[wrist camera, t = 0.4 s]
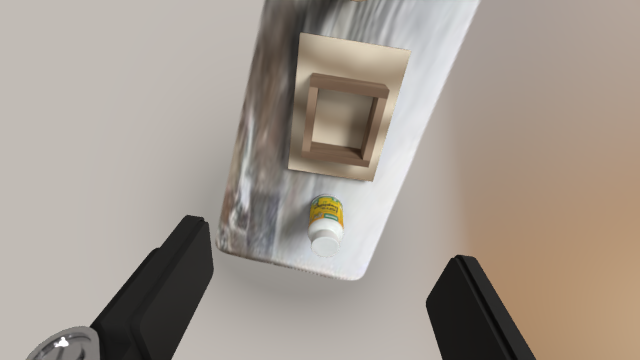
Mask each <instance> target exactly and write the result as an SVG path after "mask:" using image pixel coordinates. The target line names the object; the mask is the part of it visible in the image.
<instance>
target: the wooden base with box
mask: <svg viewBox="0 0 640 360" xmlns="http://www.w3.org/2000/svg"><path fill="white" fill-rule="evenodd" d="M410 53H411V51H409V50H405V49H399V48H393V47H387V46H381V45H375V44H369V43H363V42H357V41H351V40H345V39H339V38H333V37H327V36H321V35H315V34H309V33H303V32H301V33H300V40H299V51H298V62H297V74H296V85H295V96H294V107H293V119H292V130H291V141H290V152H289V164H288V169H293V170H299V171H306V172H313V173H319V174H326V175H332V176H339V177H345V178H352V179H359V180H365V181H372V182H373V179H374V176H375V172H376V169H377V165H378V162H379V159H380V155H381V152H382V148H383V145H384V142H385V138H386V135H387V131H388V128H389V125H390V121H391V118H392V114H393V111H394V108H395V104H396V101H397V97H398V94H399V91H400V87H401V84H402V81H403V77H404V74H405V70H406V67H407V64H408V60H409V57H410Z"/></svg>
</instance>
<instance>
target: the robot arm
mask: <svg viewBox="0 0 640 360" xmlns="http://www.w3.org/2000/svg"><path fill="white" fill-rule="evenodd" d="M213 270H214V268H213V259H212V250H211V241H210V232H209V224H208V222H205V221H204V218H203V217H197V216H191V215H187V216H185V217H184V218H183V219H182V220H181V222H180V223H179V224H178V225H177V227H176V228H175V229H174V230H173V232H172V233H171V234H170V236H169V237H168V238H167V239H166V241H165V242H164V243H163V244H162V246H161V247H160V248H156V249H154V250H152V251H151V252H150V253H149V255H148V256H147V257H146V258H145V260H144V261H143V262H142V263H141V264H140V266H139V267H138V268H137V269H136V271H135V272H134V273H133V274H132V275H131V277H130V278H129V279H128V280H127V282H126V283H125V284H124V285H123V286H122V288H121V289H120V290H119V291H118V292H117V294H116V295H115V296H114V297H113V299H112V300H111V301H110V302H109V303H108V305H107V306H106V307H105V308H104V310H103V311H102V312H101V313H100V314H99V316H98V317H97V318H96V319H95V321H94V322H93V323H92V324H91V325H90V327H85V326H79V327H72V328H69V329H66V330H62V331H61V332H59V333H57V334H54V335H53V336H51V337H49V338H48V339H46V340H45V341H44V342H42V343H41V344H39V345H38V346H37V347H36V348H35V349H34V350H33V351H32V352H31V353H30V354H29V356H28V357H27V359H26V360H171V359H172V357H173V355H174V353H175V351H176V349H177V347H178V345H179V343H180V341H181V339H182V337H183V334H184V333H185V330H186V329H187V326H188V325H189V323H190V320H191V319H192V317H193V315H194V312H195V310H196V308H197V306H198V304H199V302H200V300H201V298H202V296H203V294H204V292H205V290H206V288H207V286H208V284H209V282H210V280H211V278H212V275H213ZM426 308H427V312H428V315H429V318H430V321H431V324H432V327H433V331H434V334H435V337H436V340H437V344H438V347H439V350H440V353H441V356H442V359H443V360H536V358H535V357H534V355H533V353H532V352H531V350H530V348H529V347H528V345H527V343H526V342H525V340H524V338H523V336H522V335H521V333H520V331H519V330H518V328H517V326H516V325H515V323H514V322H513V320H512V318H511V316H510V315H509V313H508V311H507V310H506V308H505V306H504V305H503V303H502V301H501V300H500V298H499V296H498V294H497V293H496V291H495V289H494V288H493V286H492V284H491V283H490V281H489V279H488V278H487V276H486V274H485V273H484V271H483V269H482V268H481V266H480V264H479V263H478V261H477V260H476V258H474V257H471V256H464V255H456V256H455V257H454V258H451V259H450V261H449V262H448V264H447V266H446V267H445V269H444V271H443V272H442V274H441V276H440V277H439V279H438V281H437V282H436V284H435V286H434V288H433V289H432V291H431V293H430V294H429V296H428V298H427V300H426Z"/></svg>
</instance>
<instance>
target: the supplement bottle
mask: <svg viewBox="0 0 640 360" xmlns="http://www.w3.org/2000/svg"><path fill="white" fill-rule="evenodd" d="M343 235H344V230H343V209H342V203H341V202H340V200H339V199H338V198H336V197H335V196H333V195H328V194H325V195H320V196H318V197H317V198H316V199H314V200H313V202H312V204H311V210H310V218H309V226H308V237H309V239H310V241H311V249H312V251H313V252H314V253H315V254H316V255H318V256H320V257H331V256H334V255H335V254H337V252H338V251H339V246H340V242H341V240H342V238H343Z"/></svg>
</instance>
